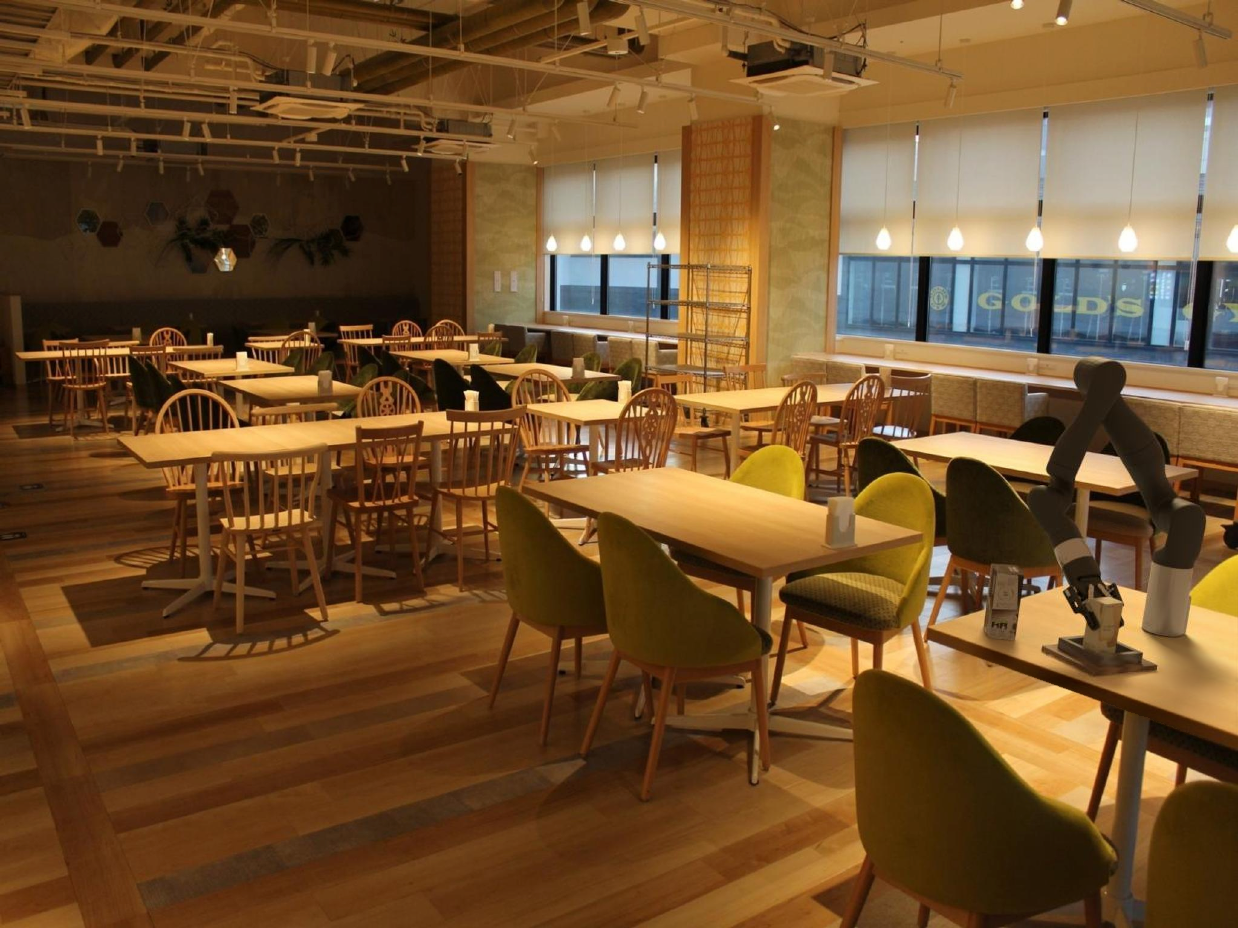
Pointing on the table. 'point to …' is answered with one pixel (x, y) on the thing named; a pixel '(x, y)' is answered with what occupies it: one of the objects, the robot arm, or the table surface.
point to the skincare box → (1104, 625)
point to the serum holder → (1099, 657)
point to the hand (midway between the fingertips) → (1108, 627)
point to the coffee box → (1003, 601)
